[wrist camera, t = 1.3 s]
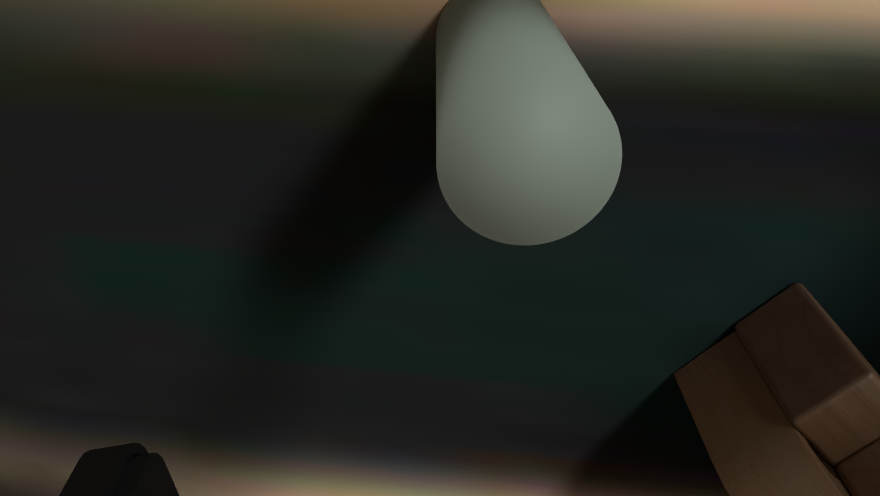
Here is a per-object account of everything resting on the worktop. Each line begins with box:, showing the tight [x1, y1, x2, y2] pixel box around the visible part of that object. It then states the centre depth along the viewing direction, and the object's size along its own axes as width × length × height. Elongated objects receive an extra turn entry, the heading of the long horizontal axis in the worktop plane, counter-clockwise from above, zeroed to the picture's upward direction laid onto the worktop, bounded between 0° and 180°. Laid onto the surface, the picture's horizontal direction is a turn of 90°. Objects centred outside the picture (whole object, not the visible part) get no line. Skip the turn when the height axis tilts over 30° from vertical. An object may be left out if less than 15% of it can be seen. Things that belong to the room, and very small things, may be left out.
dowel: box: [436, 0, 622, 245], centre depth 23 cm, size 4×4×12 cm
